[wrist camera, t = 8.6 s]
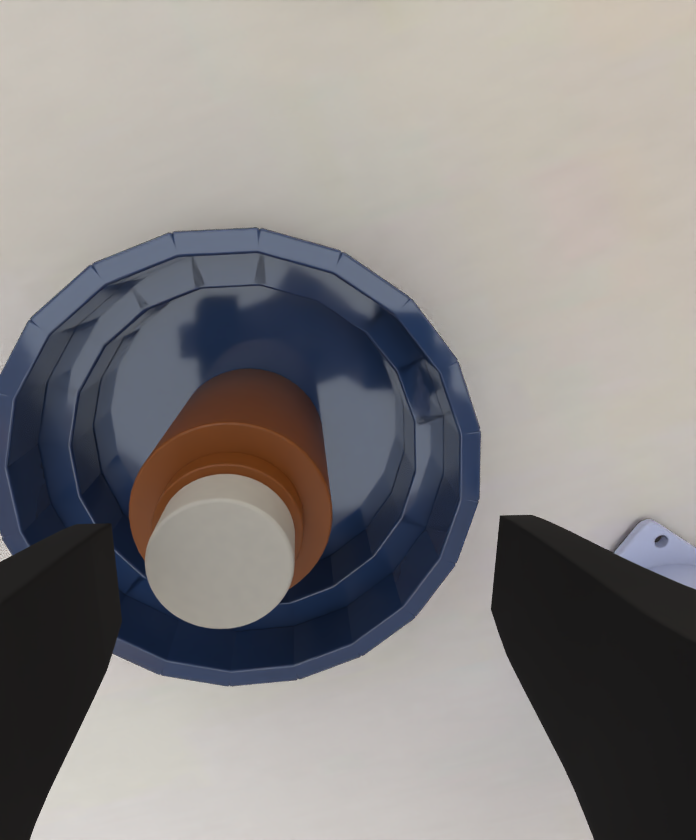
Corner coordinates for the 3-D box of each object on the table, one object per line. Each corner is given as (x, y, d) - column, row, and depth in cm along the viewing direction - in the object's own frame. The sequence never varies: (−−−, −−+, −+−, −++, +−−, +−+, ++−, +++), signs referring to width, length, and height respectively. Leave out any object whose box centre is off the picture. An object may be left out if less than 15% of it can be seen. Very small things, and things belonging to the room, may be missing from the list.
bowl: (517, 375, 20) (575, 410, 16) (313, 653, 23) (317, 747, 19) (176, 142, 18) (136, 109, 13) (-13, 492, 20) (-97, 559, 16)
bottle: (350, 416, 20) (383, 530, 12) (275, 527, 21) (260, 700, 13) (224, 339, 19) (171, 409, 11) (151, 460, 20) (54, 604, 12)
